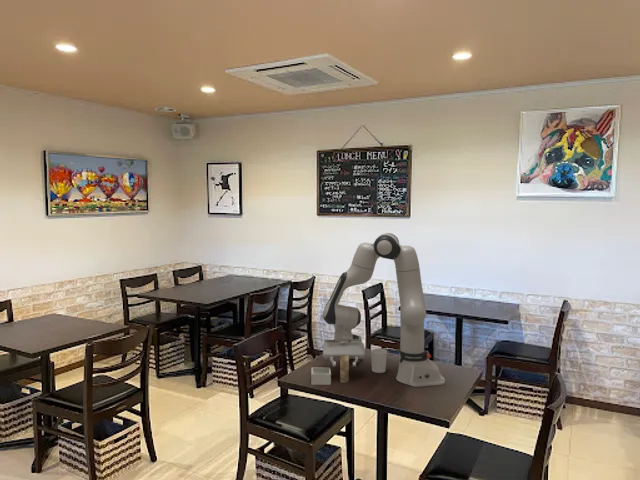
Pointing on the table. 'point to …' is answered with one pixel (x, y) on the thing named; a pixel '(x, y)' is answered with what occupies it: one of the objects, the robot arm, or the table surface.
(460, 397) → the table surface
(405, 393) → the table surface
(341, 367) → the peg
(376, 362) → the white cup
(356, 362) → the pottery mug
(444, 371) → the table surface
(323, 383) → the socket box
